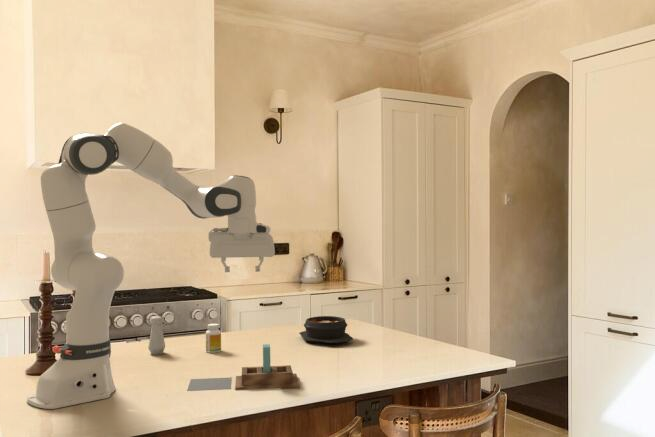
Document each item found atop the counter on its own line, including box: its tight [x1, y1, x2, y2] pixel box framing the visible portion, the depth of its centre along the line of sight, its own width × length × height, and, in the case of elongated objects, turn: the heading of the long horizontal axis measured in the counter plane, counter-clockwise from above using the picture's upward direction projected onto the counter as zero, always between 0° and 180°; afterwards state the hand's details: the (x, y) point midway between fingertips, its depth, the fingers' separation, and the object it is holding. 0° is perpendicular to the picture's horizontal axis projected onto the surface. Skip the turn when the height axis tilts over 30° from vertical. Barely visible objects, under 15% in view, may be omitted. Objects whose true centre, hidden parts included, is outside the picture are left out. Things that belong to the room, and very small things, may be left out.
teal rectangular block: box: [262, 343, 271, 373], centre depth 177 cm, size 2×4×10 cm, turn 7°
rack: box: [234, 364, 301, 391], centre depth 177 cm, size 18×12×4 cm, turn 98°
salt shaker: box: [148, 315, 166, 356], centre depth 216 cm, size 6×6×13 cm
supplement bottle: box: [205, 323, 222, 354], centre depth 218 cm, size 5×5×10 cm
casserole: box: [298, 315, 354, 345], centre depth 235 cm, size 25×19×8 cm
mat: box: [186, 376, 233, 392], centre depth 176 cm, size 12×12×1 cm
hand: (242, 271), depth 191 cm, fingers open, 8 cm apart
